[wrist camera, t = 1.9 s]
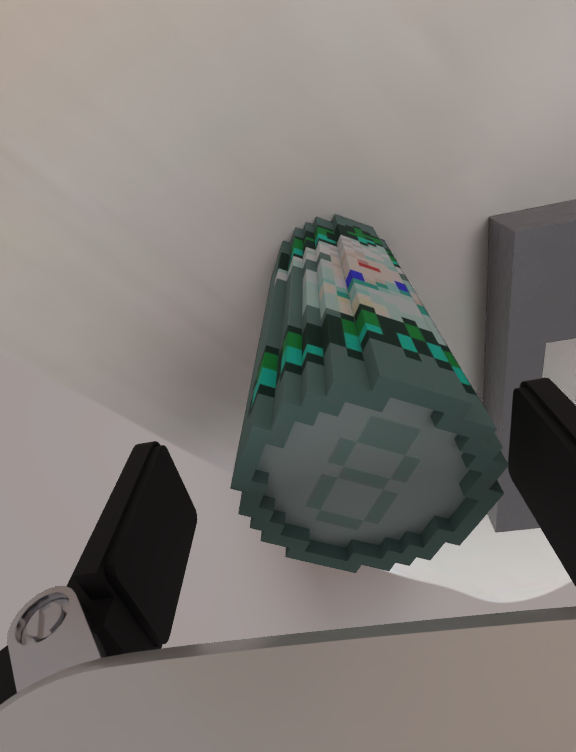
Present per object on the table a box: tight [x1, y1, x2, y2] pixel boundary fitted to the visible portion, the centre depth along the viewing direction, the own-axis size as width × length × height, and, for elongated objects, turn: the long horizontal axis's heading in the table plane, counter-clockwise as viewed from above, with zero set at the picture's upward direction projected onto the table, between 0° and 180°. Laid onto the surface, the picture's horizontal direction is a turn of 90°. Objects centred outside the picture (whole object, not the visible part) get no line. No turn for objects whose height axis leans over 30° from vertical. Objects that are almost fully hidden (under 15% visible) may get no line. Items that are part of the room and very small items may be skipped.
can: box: [231, 214, 509, 573], centre depth 16 cm, size 6×6×15 cm
